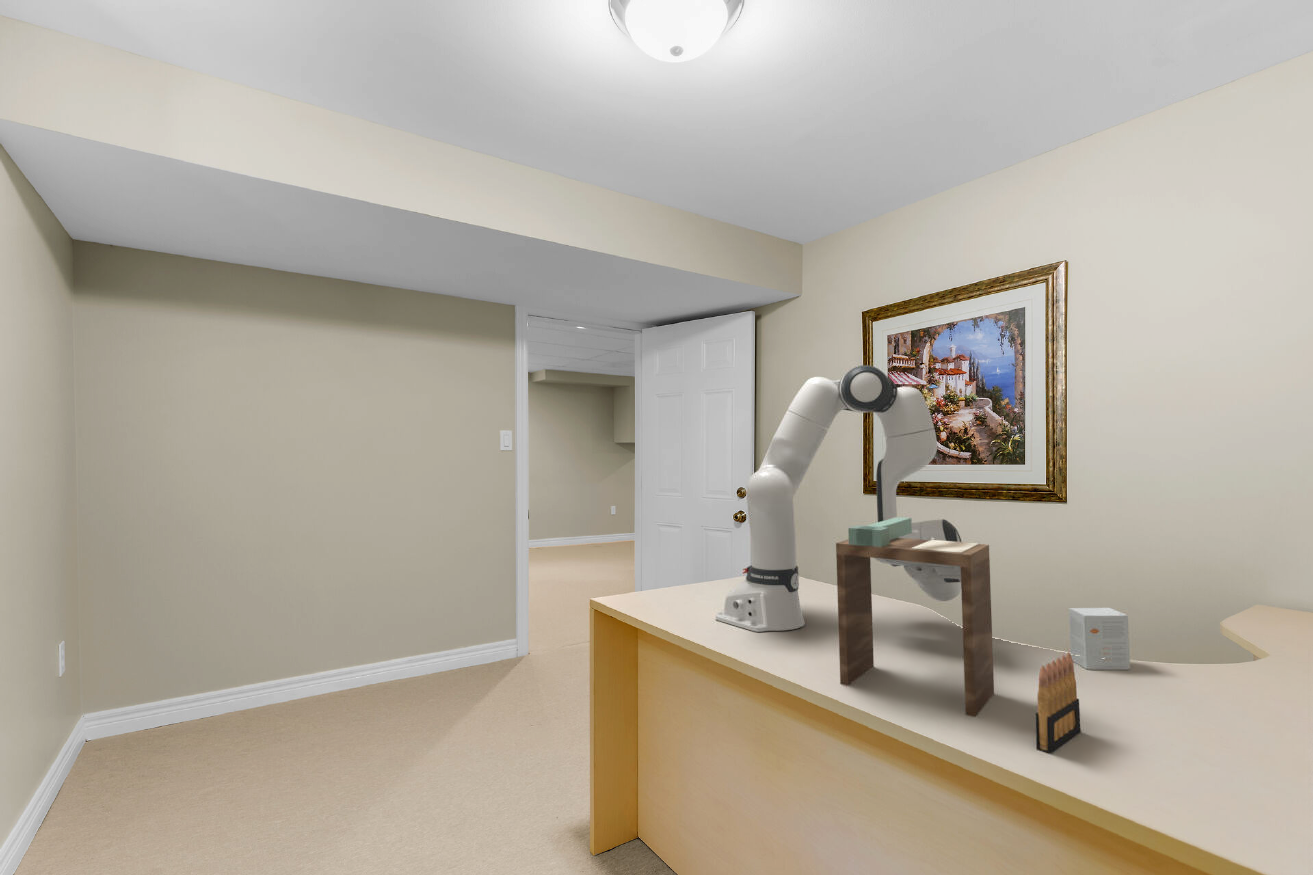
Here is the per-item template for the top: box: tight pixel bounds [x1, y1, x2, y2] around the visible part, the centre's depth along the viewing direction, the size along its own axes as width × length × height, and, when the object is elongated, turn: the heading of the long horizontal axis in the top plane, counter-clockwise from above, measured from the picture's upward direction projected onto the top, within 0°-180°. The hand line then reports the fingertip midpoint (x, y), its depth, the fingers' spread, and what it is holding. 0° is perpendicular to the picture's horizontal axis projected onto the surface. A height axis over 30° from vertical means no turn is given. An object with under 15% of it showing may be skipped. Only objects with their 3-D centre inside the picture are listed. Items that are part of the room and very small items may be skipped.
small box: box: [1068, 607, 1131, 671], centre depth 120 cm, size 8×6×10 cm
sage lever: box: [847, 516, 913, 547], centre depth 119 cm, size 6×20×3 cm, turn 139°
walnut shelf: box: [835, 538, 995, 718], centre depth 112 cm, size 23×12×26 cm, turn 49°
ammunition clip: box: [1035, 652, 1082, 754], centre depth 91 cm, size 11×2×12 cm, turn 126°
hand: (905, 538), depth 127 cm, fingers open, 8 cm apart
